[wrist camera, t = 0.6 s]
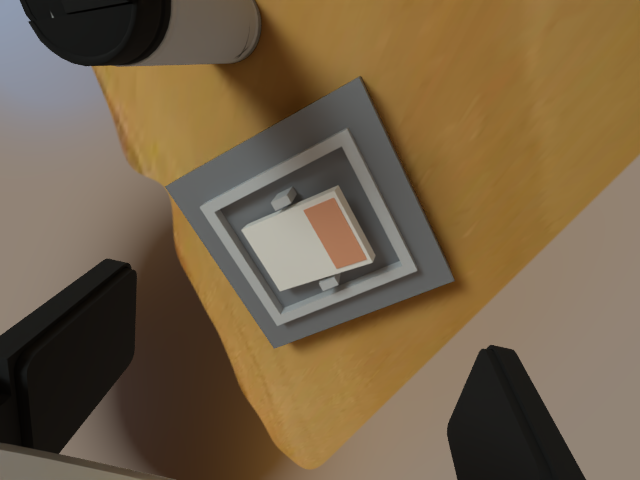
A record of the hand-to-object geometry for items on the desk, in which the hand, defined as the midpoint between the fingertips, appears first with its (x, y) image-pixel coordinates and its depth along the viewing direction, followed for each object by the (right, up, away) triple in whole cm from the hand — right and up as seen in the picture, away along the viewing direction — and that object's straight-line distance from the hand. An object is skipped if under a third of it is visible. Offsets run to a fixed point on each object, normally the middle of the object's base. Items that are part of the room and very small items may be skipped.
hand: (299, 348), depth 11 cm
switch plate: (0, +5, +30) cm, 30 cm away
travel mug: (-7, +21, +24) cm, 33 cm away
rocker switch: (-1, +3, +26) cm, 26 cm away
